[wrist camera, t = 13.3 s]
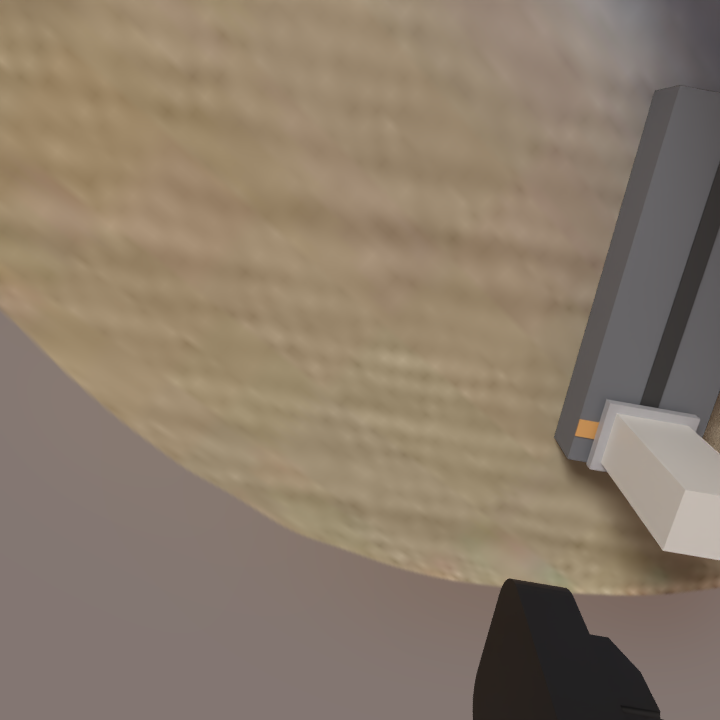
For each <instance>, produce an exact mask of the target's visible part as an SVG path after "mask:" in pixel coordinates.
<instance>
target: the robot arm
mask: <svg viewBox="0 0 720 720" xmlns="http://www.w3.org/2000/svg"><path fill="white" fill-rule="evenodd" d="M473 720H662V719H660V710H659V708H658V706H657V704H656V702H655V700H654V698H653V696H652V694H651V693H650V690H649V688H648V686H647V684H646V682H645V680H644V678H643V676H642V674H641V672H640V671H639V670H638V669H637V668H636V667H635V666H634V665H633V664H632V663H631V662H630V661H629V659H628V658H627V657H626V656H625V655H624V654H623V653H622V652H621V651H620V650H619V649H618V648H617V646H616V645H615V644H614V643H613V642H612V641H611V640H610V639H609V638H608V637H602V636H595V635H590V634H589V632H588V630H587V627H586V625H585V623H584V620H583V618H582V616H581V613H580V611H579V609H578V606H577V604H576V602H575V599H574V597H573V595H572V593H571V592H570V591H569V590H568V589H567V588H563V587H557V586H551V585H545V584H539V583H533V582H527V581H521V580H515V579H507V580H506V581H505V582H504V584H503V586H502V588H501V591H500V594H499V597H498V601H497V604H496V608H495V611H494V615H493V618H492V622H491V625H490V629H489V632H488V636H487V639H486V643H485V646H484V650H483V653H482V657H481V660H480V664H479V667H478V671H477V675H476V680H475V686H474V694H473Z"/></svg>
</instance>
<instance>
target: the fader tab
mask: <svg viewBox="0 0 720 720" xmlns="http://www.w3.org/2000/svg"><path fill="white" fill-rule="evenodd" d="M699 422H700V418H699V417H697V416H696V415H693V414H688V413H682V412H676V411H671V410H665V409H659V408H654V407H648V406H642V405H636V404H631V403H625V402H619V401H614V400H608V399H606V403H605V406H604V409H603V412H602V415H601V419H600V422H599V425H598V428H597V431H596V435H595V438H594V441H593V444H592V447H591V451H590V454H589V457H588V460H587V463H586V465H587V466H588V468H589V469H592V470H598V471H603V472H608V474H609V475H610V476H611V478H612V479H613V481H614V482H615V483H616V485H617V486H618V488H619V489H620V491H621V492H622V493H623V495H624V496H625V498H626V499H627V500H628V502H629V503H630V505H631V506H632V508H633V509H634V510H635V512H636V513H637V515H638V516H639V517H640V519H641V520H642V522H643V523H644V525H645V526H646V527H647V529H648V530H649V532H650V533H651V534H652V536H653V537H654V539H655V540H656V542H657V543H658V544H659V546H660V547H661V549H662V550H663V551H668V552H674V553H680V554H686V555H692V556H697V557H703V558H709V559H715V560H720V454H719V453H718V452H717V451H716V450H715V449H714V448H713V447H712V446H710V445H709V444H708V443H707V442H706V441H705V440H704V439H703V438H701V437H700V436H699V435H698V434H697V433H696V430H697V427H698V425H699Z"/></svg>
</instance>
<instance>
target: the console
mask: <svg viewBox="0 0 720 720" xmlns="http://www.w3.org/2000/svg"><path fill="white" fill-rule="evenodd" d="M719 391H720V93H719V92H714V91H708V90H703V89H698V88H692V87H687V86H682V85H679V86H674V87H670V88H665V89H661V90H656V91H655V92H654V96H653V99H652V103H651V106H650V110H649V113H648V116H647V120H646V123H645V127H644V130H643V134H642V137H641V140H640V144H639V147H638V151H637V154H636V158H635V161H634V165H633V168H632V171H631V175H630V178H629V182H628V185H627V189H626V192H625V195H624V199H623V202H622V206H621V209H620V213H619V216H618V220H617V223H616V226H615V230H614V233H613V237H612V240H611V244H610V247H609V251H608V254H607V257H606V261H605V264H604V268H603V271H602V275H601V278H600V281H599V285H598V288H597V292H596V295H595V299H594V302H593V306H592V309H591V312H590V316H589V319H588V323H587V326H586V330H585V333H584V336H583V340H582V343H581V347H580V350H579V354H578V357H577V361H576V364H575V367H574V371H573V374H572V378H571V381H570V385H569V388H568V392H567V395H566V398H565V402H564V405H563V409H562V412H561V416H560V419H559V422H558V426H557V429H556V433H555V436H554V437H555V439H556V441H557V442H558V444H559V446H560V447H561V449H562V451H563V452H564V454H565V456H566V457H567V459H571V460H577V461H583V462H587V460H588V457H589V454H590V451H591V447H592V444H593V441H594V438H595V435H596V431H597V428H598V425H599V422H600V419H601V415H602V412H603V409H604V406H605V403H606V399H608V400H614V401H619V402H625V403H631V404H636V405H642V406H648V407H654V408H659V409H665V410H671V411H676V412H682V413H688V414H693V415H696V416H697V417H699V418H700V422H699V425H698V427H697V430H696V433H697V434H698V435H699V436H700V437H701V438H703V435H704V432H705V429H706V427H707V424H708V421H709V419H710V416H711V413H712V410H713V408H714V405H715V402H716V399H717V397H718V394H719Z"/></svg>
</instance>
